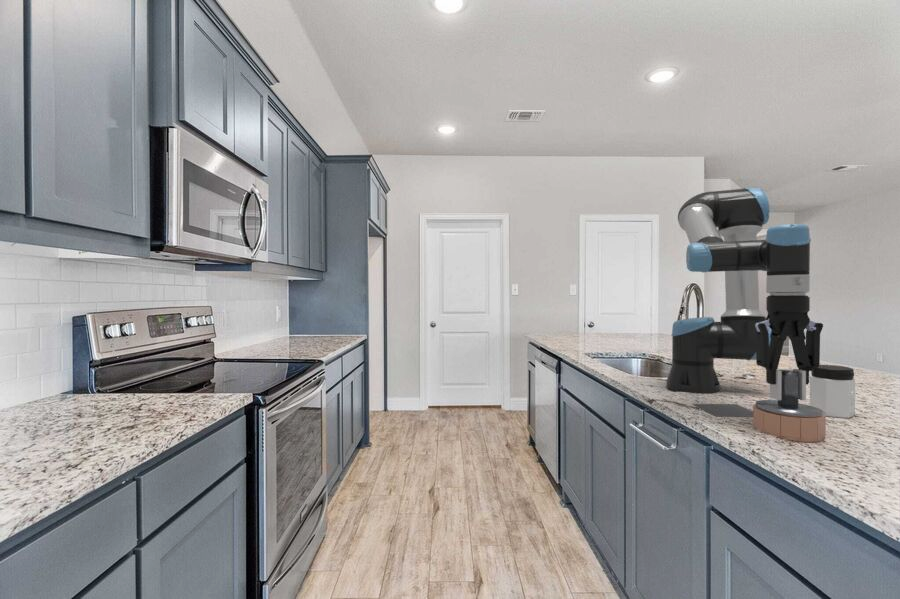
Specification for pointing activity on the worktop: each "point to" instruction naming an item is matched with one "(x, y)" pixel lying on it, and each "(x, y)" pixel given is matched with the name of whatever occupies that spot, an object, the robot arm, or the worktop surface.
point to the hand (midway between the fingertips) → (787, 398)
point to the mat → (725, 410)
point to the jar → (833, 390)
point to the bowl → (790, 426)
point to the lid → (789, 399)
